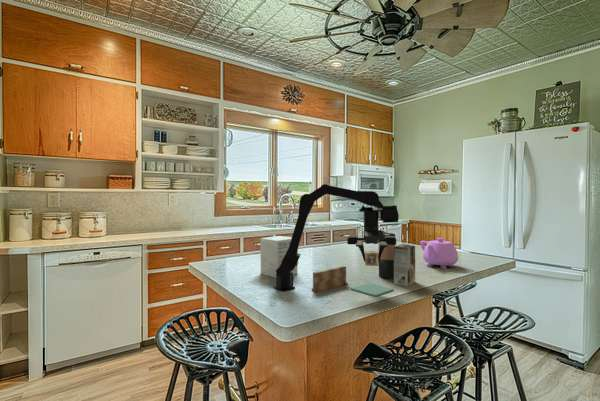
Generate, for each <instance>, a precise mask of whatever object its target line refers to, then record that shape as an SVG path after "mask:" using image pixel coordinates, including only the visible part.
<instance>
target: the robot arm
mask: <svg viewBox="0 0 600 401" xmlns="http://www.w3.org/2000/svg"><path fill="white" fill-rule="evenodd" d="M325 195H329V196H334V197H340V198H345V199H350V200H353V201H356V202H358V203H361V204H364V205H361V207H360V208H359V209H358V212H363V237H358V235H349V236H347V240H346V243H347V245H355V247H356V248H357V247H358V249H359V251H360V253H361V256H362V259H363V261H364V262H363V263H365V245H370V244H374V245H377V244H378V245H379V252H378V263H379V261H380V258H381V255H382V252H383V250H384V248H385V247H388V245H395V246H397V238H396V236H395V237H394V236H385V238H383V233H384V231H383V230H379V220H380V221H381V222H382V223H385V224H386V223H398V222H399V219H400V218H399V215H400V214H399V211H398V206H397V205H394V204H393V205H384V204H383V203H382V202H381V201H380V197H379V194H378V193H377V192H376V191H373V190H353V189H348V188H344V187H338V186H334V185H333V186H332V185H328V184H326V183H324V184H321V186H319V187H317V189H315V190H313V191H311V192H310V193H304V194H302V195H301V197H300V198H299V204H298V205H299V206H298V216H297V218H296V223H295V226H294V228H293V229H294V230H293V233H292V236H291V237H292V239H291V242H290V246H289V248H288V250H287V252H286V254H285V256H284V258H283V260H282V262H281V264H280V265H279V267H278V268H277V270H276V273H277V274H276V278H275V286H273V288H274V289H276V290H279V291H281V292H285V291H290V290H293V289H296V286H294V276H293V273H292V272H291V271H292V270H293V269H294V268H295V266H297V267H298V265H299V260H300V258H301V255H302V254H301V253H299V246H300V243H301V240H302V237H303V233H304V230H305V226H306V224H307V220H308V217H309V215H310V213H311V211H312V209H313V207H314V204H315V203H316V201H317V200H319V199H321V198H322V197H324V196H325ZM365 205H366V206H367V207H366V206H365ZM368 206H369V207H368ZM373 207H374V208H375V209H373ZM364 243H365V245H364ZM387 244H388V245H387Z"/></svg>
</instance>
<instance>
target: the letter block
mask: <svg viewBox="0 0 600 401" xmlns="http://www.w3.org/2000/svg"><path fill="white" fill-rule="evenodd" d="M364 252H365V262H364V264H365V266H367V267H368V266H371V267H379V262H378V250H364Z"/></svg>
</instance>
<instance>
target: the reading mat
mask: <svg viewBox="0 0 600 401" xmlns="http://www.w3.org/2000/svg"><path fill="white" fill-rule="evenodd" d="M350 290H351V291H354V292H357V293H361V294H365V295H367V296H372V297H374V298H375V297H379V296H381V295H382V296H383V295H384V294H388V293H389V292H390V293H391V292H393V291H394V288H391V287H388V286H383V285H380V284H376V283H372V282H367V283H363V284H359V285H356V286H353V287H350Z"/></svg>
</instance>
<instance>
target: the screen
mask: <svg viewBox="0 0 600 401" xmlns="http://www.w3.org/2000/svg"><path fill="white" fill-rule="evenodd" d="M348 284H349V283H348V282H347V266H346V265H341V266H336V267H332V268H327V269H323V270H317V271H314V272H313V273H312V288H311V291H312V292H313V293H322V291H325V290H329V289H332V288H335V287H340V286H344V285H345V286H348Z"/></svg>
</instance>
